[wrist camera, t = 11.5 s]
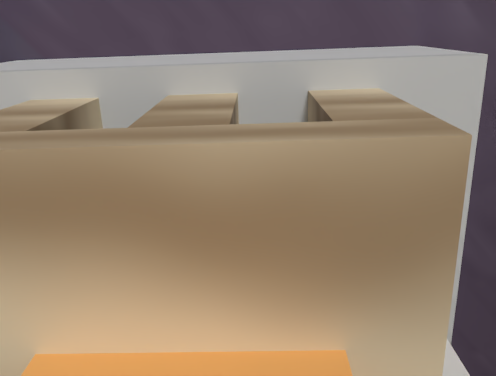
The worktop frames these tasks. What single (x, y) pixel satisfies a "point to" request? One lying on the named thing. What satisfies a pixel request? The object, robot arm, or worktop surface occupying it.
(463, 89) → the dock
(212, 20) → the worktop surface
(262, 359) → the orange square block
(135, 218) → the pallet
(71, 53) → the worktop surface
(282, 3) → the worktop surface
